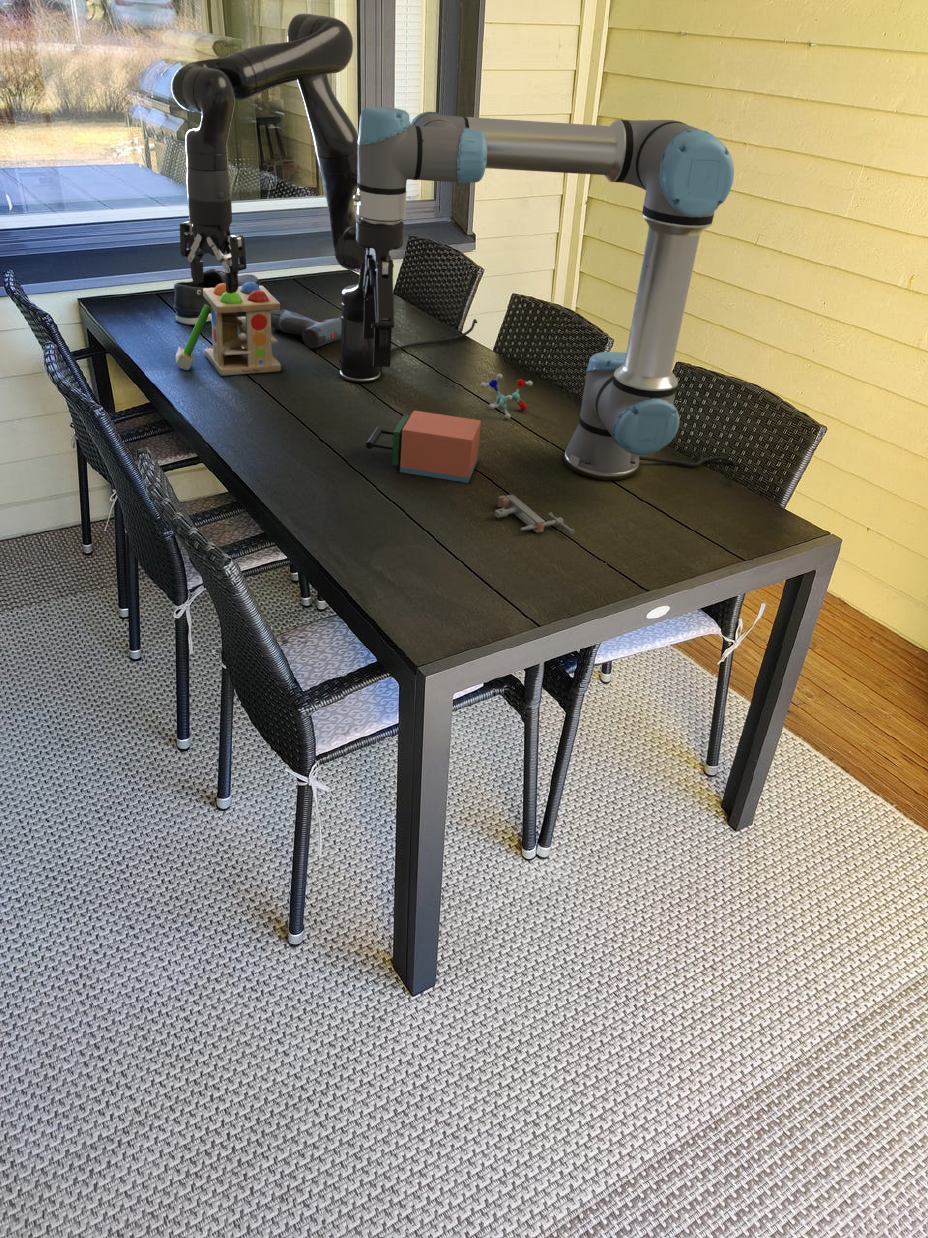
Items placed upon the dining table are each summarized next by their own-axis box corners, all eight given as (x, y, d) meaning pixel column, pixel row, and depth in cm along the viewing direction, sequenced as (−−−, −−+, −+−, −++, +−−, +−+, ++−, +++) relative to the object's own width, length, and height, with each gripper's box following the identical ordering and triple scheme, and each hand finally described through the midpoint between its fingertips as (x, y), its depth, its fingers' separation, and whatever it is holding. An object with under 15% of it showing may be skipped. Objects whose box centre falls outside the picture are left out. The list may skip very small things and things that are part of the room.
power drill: (305, 316, 264) (364, 334, 256) (257, 332, 251) (318, 351, 243) (305, 296, 261) (365, 314, 253) (257, 311, 248) (318, 330, 240)
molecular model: (528, 411, 213) (513, 366, 211) (488, 425, 216) (474, 381, 215) (541, 408, 223) (527, 366, 222) (503, 422, 227) (489, 380, 225)
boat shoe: (280, 303, 273) (279, 264, 268) (193, 326, 249) (189, 285, 244) (246, 294, 279) (244, 257, 273) (158, 317, 255) (153, 276, 250)
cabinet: (399, 472, 191) (402, 429, 186) (411, 451, 200) (413, 410, 195) (468, 482, 190) (472, 440, 185) (477, 461, 198) (481, 420, 193)
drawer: (364, 460, 192) (365, 427, 188) (376, 442, 199) (377, 410, 195) (453, 474, 190) (456, 441, 186) (462, 456, 197) (465, 423, 194)
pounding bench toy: (183, 379, 220) (176, 299, 210) (169, 357, 231) (162, 280, 221) (282, 371, 230) (280, 294, 220) (264, 350, 240) (262, 276, 230)
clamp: (484, 498, 180) (530, 489, 184) (483, 509, 181) (528, 500, 186) (529, 536, 169) (576, 526, 174) (527, 547, 171) (574, 537, 175)
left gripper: (254, 199, 174) (257, 292, 183) (196, 184, 180) (202, 275, 189) (223, 205, 168) (228, 300, 177) (164, 189, 174) (172, 282, 183)
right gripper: (348, 199, 163) (346, 326, 174) (366, 238, 143) (362, 378, 154) (393, 201, 164) (388, 327, 176) (417, 240, 144) (409, 378, 156)
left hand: (214, 287), depth 183 cm, fingers open, 8 cm apart
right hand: (376, 351), depth 165 cm, fingers open, 13 cm apart
